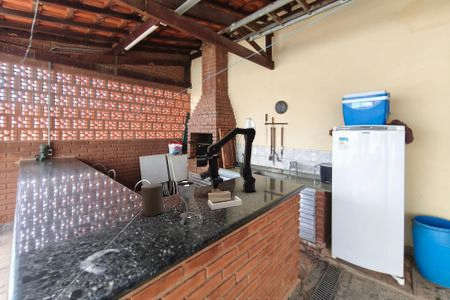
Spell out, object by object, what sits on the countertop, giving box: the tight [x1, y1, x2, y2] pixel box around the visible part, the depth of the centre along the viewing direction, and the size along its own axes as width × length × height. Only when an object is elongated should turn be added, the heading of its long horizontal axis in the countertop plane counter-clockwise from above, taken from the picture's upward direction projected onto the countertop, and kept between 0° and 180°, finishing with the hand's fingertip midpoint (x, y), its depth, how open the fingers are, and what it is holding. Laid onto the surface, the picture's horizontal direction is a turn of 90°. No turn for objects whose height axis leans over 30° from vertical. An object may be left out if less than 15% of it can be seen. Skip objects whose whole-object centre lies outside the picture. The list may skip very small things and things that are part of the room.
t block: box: [207, 188, 232, 203], centre depth 119 cm, size 11×12×4 cm
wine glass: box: [176, 180, 196, 219], centre depth 96 cm, size 8×8×15 cm
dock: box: [207, 195, 243, 211], centre depth 108 cm, size 16×8×2 cm, turn 108°
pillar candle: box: [140, 182, 165, 217], centre depth 101 cm, size 10×10×15 cm
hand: (214, 191), depth 126 cm, fingers closed
